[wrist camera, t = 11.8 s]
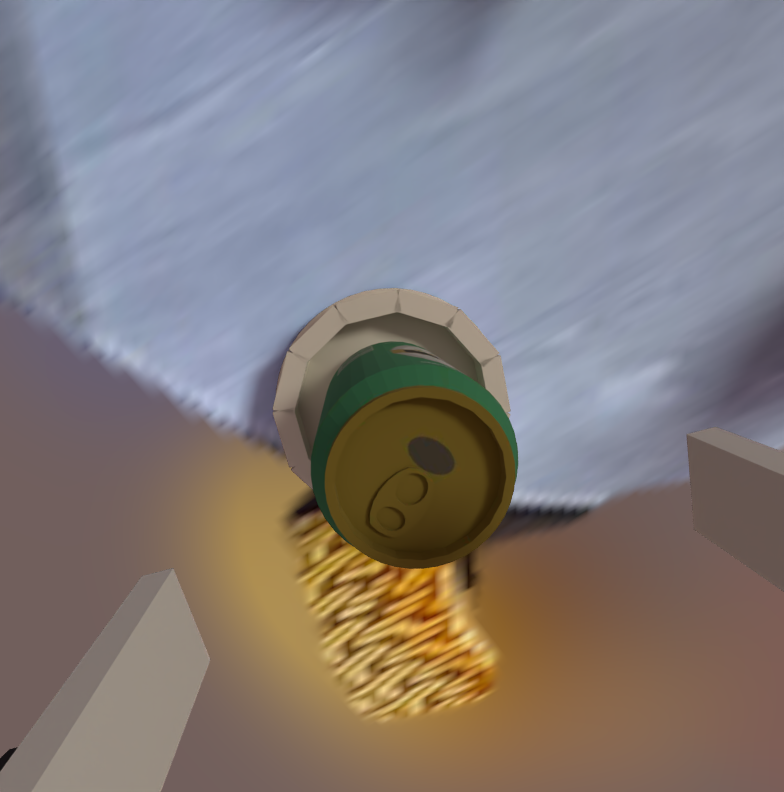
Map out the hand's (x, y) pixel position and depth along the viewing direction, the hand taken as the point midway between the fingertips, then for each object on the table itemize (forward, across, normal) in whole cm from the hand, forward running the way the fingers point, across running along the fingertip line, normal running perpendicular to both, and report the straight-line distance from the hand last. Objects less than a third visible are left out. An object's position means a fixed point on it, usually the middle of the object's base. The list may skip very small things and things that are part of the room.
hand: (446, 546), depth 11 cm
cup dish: (+18, 0, -1) cm, 18 cm away
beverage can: (+17, 0, -1) cm, 17 cm away
